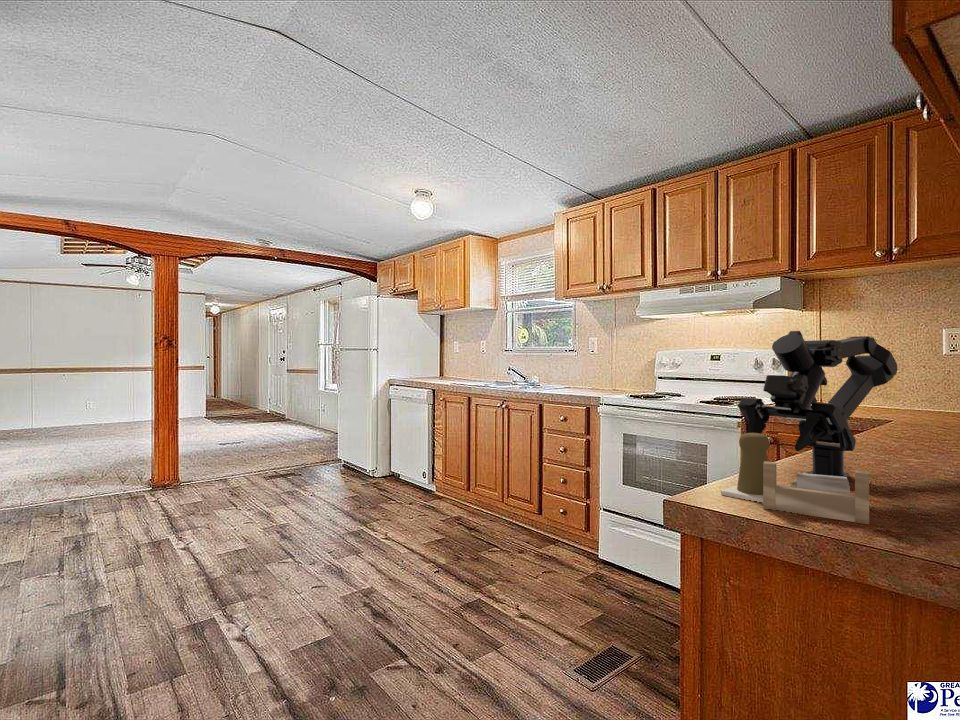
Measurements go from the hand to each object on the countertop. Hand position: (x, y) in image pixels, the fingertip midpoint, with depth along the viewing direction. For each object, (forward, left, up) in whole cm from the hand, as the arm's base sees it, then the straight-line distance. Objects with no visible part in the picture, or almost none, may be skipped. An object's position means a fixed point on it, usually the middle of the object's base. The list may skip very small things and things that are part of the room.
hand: (772, 446), depth 103 cm
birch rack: (+11, +11, -9) cm, 18 cm away
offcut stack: (-1, +8, -9) cm, 12 cm away
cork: (+6, -1, -8) cm, 10 cm away
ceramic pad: (+6, -1, -9) cm, 11 cm away
